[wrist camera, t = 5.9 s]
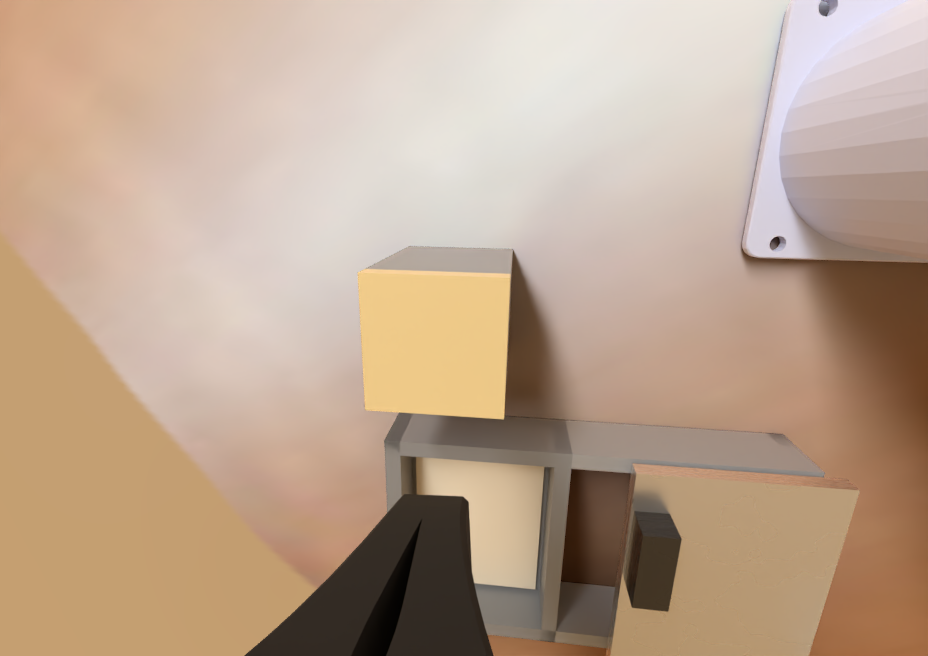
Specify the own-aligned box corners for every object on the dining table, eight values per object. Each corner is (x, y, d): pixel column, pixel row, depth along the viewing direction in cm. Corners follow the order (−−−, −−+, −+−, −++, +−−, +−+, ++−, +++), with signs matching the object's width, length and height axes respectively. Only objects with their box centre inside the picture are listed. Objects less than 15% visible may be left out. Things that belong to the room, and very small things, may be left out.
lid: (847, 479, 15) (889, 515, 14) (788, 676, 18) (816, 727, 16) (632, 463, 16) (645, 496, 14) (605, 654, 19) (614, 702, 17)
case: (782, 434, 18) (825, 473, 16) (739, 610, 21) (770, 666, 18) (401, 409, 20) (384, 440, 17) (405, 575, 22) (391, 623, 20)
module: (512, 249, 17) (510, 277, 12) (508, 348, 18) (504, 419, 13) (409, 246, 18) (357, 272, 12) (411, 343, 19) (365, 410, 13)
